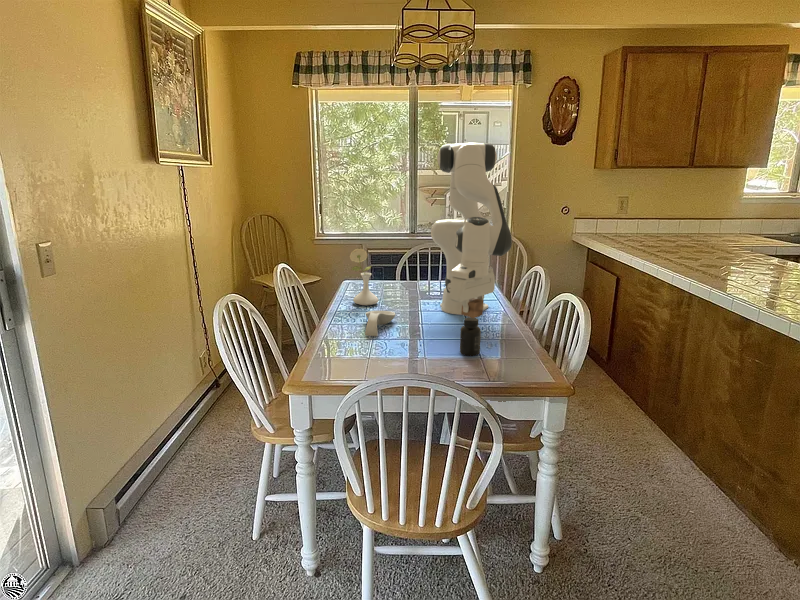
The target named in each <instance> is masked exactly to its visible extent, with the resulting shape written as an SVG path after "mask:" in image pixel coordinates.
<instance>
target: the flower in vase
mask: <svg viewBox="0 0 800 600" xmlns="http://www.w3.org/2000/svg"><path fill="white" fill-rule="evenodd" d="M348 256H349V258H350V261H351V262H355V263H359V264H361V263H362V262H364V261H366V260H367V258H368V252H367V251H366V249H365V250H364V248H355V249H353V250H352V251H351V252H350V254H349V255H348ZM372 266H373V265H369V266H366V267H364V269H363V268H362V266H361V265H359V266H357V265H356V266H353V267H352V268H351V269H350V270H351V271H355V272H356V271H360V270H361V271H362V272H361V273H359V274H360V276H361V277H362V282H363V288H362V290H361V291H360V292H359V293H358V294H357V295H355V296H354V297H353V300H352V301H353V303H354V304H356V305H360V306H372V305H375V304H377V303H379V301H380V300H379V298H378V297H377V296H376V294H374V293H373V292H372V291H371V290H370V289H369V282H370V278H371V276H372V273H371V272H367V271H369V270H370V269H372Z"/></svg>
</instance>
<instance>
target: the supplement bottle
mask: <svg viewBox="0 0 800 600" xmlns="http://www.w3.org/2000/svg"><path fill="white" fill-rule="evenodd" d="M479 320H480V319H479V318H478V317H476V318H471V317H468V316H467V317H465V318H464V319H463V325H462V326H461V328H460V334H459V353H460V354H461V355H462V356H465V357H477V356H479V355H480V354H481V343H482V329H481V328H480V326H479V323H480V322H479Z"/></svg>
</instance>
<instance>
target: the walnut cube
mask: <svg viewBox="0 0 800 600" xmlns="http://www.w3.org/2000/svg"><path fill="white" fill-rule="evenodd" d="M484 301H485V300H480V299H475V298H473V299H469V303H468V306H469V307H470V312H467V313H465V312H463V305H462V312H461V314H460V315H461V316H465V317H467V318H468V317H471V318H478V317H482V316H483V315H484V310H483V303H485V302H484Z"/></svg>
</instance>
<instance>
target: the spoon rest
mask: <svg viewBox="0 0 800 600" xmlns="http://www.w3.org/2000/svg"><path fill="white" fill-rule="evenodd" d="M365 316H366V318H367V319H368V320H367V323H366V326H365V332H364V336H365V337H366V336H367V337H378V336H379V334H378V333H379V332H378V331H379V330H378V325H379V326H382V325H387V324H388V323H391V322H392V321H393V319H395V317H396V313H395V312H394V311H390V310H370V311H366V312H365Z"/></svg>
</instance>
